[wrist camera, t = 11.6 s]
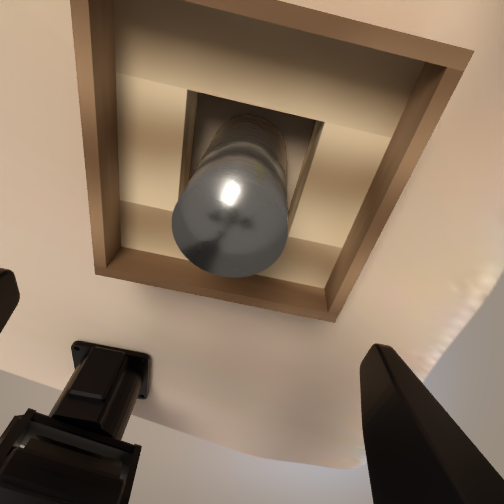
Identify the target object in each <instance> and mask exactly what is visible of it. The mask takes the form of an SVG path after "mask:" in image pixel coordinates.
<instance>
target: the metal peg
mask: <svg viewBox="0 0 504 504" xmlns="http://www.w3.org/2000/svg"><path fill="white" fill-rule="evenodd" d="M171 221H172V233H173V236H174V240H175V242H176V244H177V246H178V248H179V249H180V251H181V252H182V253H183V255H184V256H185V257H186V258H187V259H188V260H189V261H190V262H192V263H193V264H194V265H195V266H197V267H199V268H200V269H202V270H204V271H206V272H208V273H211V274H214V275H218V276H222V277H231V278H238V277H247V276H251V275H255V274H257V273H260V272H262V271H264V270H265V269H267V268H268V267H270V266H271V265H272V264H273V263H274V262H276V260H277V259H278V258H279V257H280V255H281V254H282V252H283V250H284V248H285V245H286V242H287V235H288V220H287V174H286V147H285V143H284V140H283V138H282V136H281V134H280V132H279V131H278V130H277V128H276V127H275V126H274V125H272V124H271V123H270V122H268V121H267V120H265V119H263V118H260V117H257V116H252V115H245V116H239V117H235V118H233V119H231V120H229V121H227V122H226V123H225V124H224V125H223V126H222V127H221V128H220V129H219V130H218V132H217V133H216V135H215V137H214V139H213V140H212V142H211V144H210V146H209V147H208V149H207V151H206V152H205V154H204V156H203V158H202V159H201V161H200V163H199V165H198V166H197V168H196V170H195V172H194V173H193V175H192V177H191V179H190V180H189V182H188V184H187V186H186V187H185V189H184V191H183V193H182V194H181V196H180V198H179V200H178V201H177V203H176V205H175V207H174V210H173V214H172V220H171Z"/></svg>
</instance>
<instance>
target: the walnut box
mask: <svg viewBox="0 0 504 504" xmlns="http://www.w3.org/2000/svg"><path fill="white" fill-rule="evenodd" d="M70 5H71V16H72V27H73V38H74V49H75V59H76V70H77V81H78V92H79V103H80V114H81V125H82V136H83V147H84V157H85V168H86V179H87V190H88V201H89V212H90V223H91V234H92V244H93V255H94V266H95V274H96V275H101V276H106V277H111V278H116V279H121V280H126V281H131V282H136V283H141V284H146V285H151V286H156V287H161V288H166V289H171V290H176V291H181V292H186V293H191V294H195V295H200V296H205V297H210V298H215V299H220V300H225V301H230V302H235V303H240V304H245V305H250V306H255V307H260V308H265V309H270V310H275V311H280V312H285V313H290V314H295V315H300V316H305V317H310V318H315V319H319V320H324V321H329V322H334V323H335V321H336V319H337V317H338V315H339V313H340V311H341V310H342V308H343V306H344V304H345V302H346V300H347V298H348V296H349V294H350V292H351V290H352V288H353V286H354V284H355V282H356V280H357V278H358V276H359V275H360V273H361V271H362V269H363V267H364V265H365V263H366V261H367V259H368V257H369V255H370V253H371V251H372V249H373V247H374V245H375V243H376V241H377V240H378V238H379V236H380V234H381V232H382V230H383V228H384V226H385V224H386V222H387V220H388V218H389V216H390V214H391V212H392V210H393V208H394V206H395V205H396V203H397V201H398V199H399V197H400V195H401V193H402V191H403V189H404V187H405V185H406V183H407V181H408V179H409V177H410V175H411V173H412V171H413V170H414V168H415V166H416V164H417V162H418V160H419V158H420V156H421V154H422V152H423V150H424V148H425V146H426V144H427V142H428V140H429V138H430V136H431V135H432V133H433V131H434V129H435V127H436V125H437V123H438V121H439V119H440V117H441V115H442V113H443V111H444V109H445V107H446V105H447V103H448V102H449V100H450V98H451V96H452V94H453V92H454V90H455V88H456V86H457V84H458V82H459V80H460V78H461V76H462V74H463V72H464V70H465V68H466V67H467V65H468V63H469V61H470V59H471V57H472V55H473V53H474V51H472V50H468V49H465V48H461V47H457V46H453V45H449V44H445V43H441V42H437V41H433V40H430V39H426V38H422V37H418V36H414V35H410V34H406V33H402V32H398V31H395V30H391V29H387V28H383V27H379V26H375V25H371V24H367V23H363V22H360V21H356V20H352V19H348V18H344V17H340V16H336V15H332V14H328V13H325V12H321V11H317V10H313V9H309V8H305V7H301V6H297V5H293V4H289V3H286V2H282V1H278V0H70ZM198 92H200V93H205V94H209V95H213V96H217V97H221V98H226V99H230V100H234V101H238V102H242V103H247V104H251V105H255V106H259V107H264V108H268V109H272V110H276V111H280V112H285V113H289V114H293V115H297V116H301V117H306V118H310V119H314V120H316V123H315V126H314V129H313V133H312V136H311V139H310V142H309V146H308V149H307V152H306V155H305V159H304V162H303V165H302V168H301V172H300V175H299V178H298V182H297V185H296V188H295V191H294V195H293V198H292V201H291V204H290V208H289V211H288V214H287V220H288V235H287V242H286V245H285V248H284V250H283V252H282V254H281V255H280V257H279V258H278V259H277V260H276V262H274V263H273V264H272V265H271V266H270V267H268V268H267V269H265V270H264V271H262V272H260V273H257V274H255V275H251V276H247V277H238V278H231V277H222V276H218V275H214V274H211V273H208V272H206V271H204V270H202V269H200V268H199V267H197V266H195V265H194V264H193V263H192V262H190V261H189V260H188V259H187V258H186V257H185V256H184V255H183V253H182V252H181V251H180V249H179V248H178V246H177V244H176V242H175V240H174V236H173V233H172V221H171V220H172V214H173V210H174V207H175V205H176V203H177V201H178V200H179V198H180V196H181V194H182V193H183V191H184V189H185V187H186V186H187V184H188V182H189V176H190V166H191V156H192V147H193V137H194V127H195V117H196V107H197V97H198Z"/></svg>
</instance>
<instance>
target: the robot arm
mask: <svg viewBox="0 0 504 504" xmlns="http://www.w3.org/2000/svg"><path fill="white" fill-rule="evenodd" d="M19 299H20V293H19V289H18V286H17V282H16V279H15V275H14V273H13V272H12V271H11V270H9V269H4V268H0V333H1V331H2V330H3V328H4V326H5V325H6V323H7V321H8V320H9V318H10V316H11V315H12V313H13V311H14V310H15V308H16V306H17V304H18V302H19ZM71 350H72V356H73V361H74V367H75V371H74V373H73V374H72V376H71V378H70V380H69V381H68V383H67V385H66V386H65V388H64V390H63V392H62V393H61V395H60V397H59V399H58V400H57V402H56V404H55V405H54V407H53V409H52V410H51V412H50V414H49V416H46V415H43V414H40V413H38V412H36V410H33V409H30V408H28V410H27V411H26V413H25V414H24V415H19V416H14V418H13V419H12V421H11V422H10V424H9V425H8V427H7V428H6V430H5V431H4V433H3V434H2V435H1V437H0V504H128V502H129V498H130V494H131V490H132V486H133V481H134V477H135V473H136V469H137V464H138V460H139V456H140V452H141V447H142V446H140V445H137V444H135V445H133V444H130V443H127V442H124V441H121V438H122V436H123V434H124V431H125V428H126V426H127V423H128V420H129V418H130V415H131V412H132V410H133V407H134V405H135V402H136V399H137V398H138V399H146V398H147V396H148V393H149V369H150V357H149V356H148V355H147V354H144V353H139V352H134V351H128V350H123V349H118V348H113V347H107V346H102V345H97V344H91V343H86V342H81V341H75V342H74V343H73V344H72V346H71ZM360 389H361V412H362V429H363V437H364V444H365V451H366V457H367V464H368V470H369V477H370V484H371V490H372V497H373V503H374V504H504V479H503V478H502V477H501V476H500V475H499V473H498V472H497V471H496V470H495V469H494V467H493V466H492V465H491V464H490V463H489V462H488V460H487V459H486V458H485V457H484V456H483V454H482V453H481V452H480V451H479V450H478V449H477V447H476V446H475V445H474V444H473V443H472V441H471V440H470V439H469V438H468V437H467V436H466V434H465V433H464V432H463V431H462V430H461V428H460V427H459V426H458V425H457V424H456V422H455V421H454V420H453V419H452V418H451V417H450V415H449V414H448V413H447V412H446V411H445V409H444V408H443V407H442V406H441V405H440V404H439V402H438V401H437V400H436V399H435V398H434V396H433V395H432V394H431V393H430V392H429V390H428V389H427V388H426V387H425V386H424V385H423V383H422V382H421V381H420V380H419V379H418V377H417V376H416V375H415V374H414V373H413V372H412V370H411V369H410V368H409V367H408V366H407V364H406V363H405V362H404V361H403V360H402V359H401V357H400V356H399V355H398V354H397V353H396V351H395V350H394V349H393V348H392V347H390V346H387V345H382V344H374V345H372V347H371V348H370V350H369V351H368V353H367V354H366V356H365V357H364V359H363V360H362V362H361V365H360ZM20 445H24V446H25V447H24V448H21V447H20Z"/></svg>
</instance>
